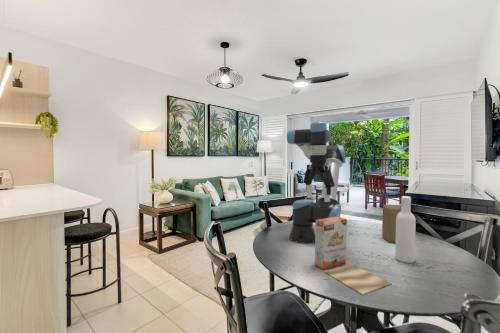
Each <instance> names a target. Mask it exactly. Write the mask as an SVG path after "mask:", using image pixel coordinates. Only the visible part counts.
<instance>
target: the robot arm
mask: <svg viewBox="0 0 500 333" xmlns="http://www.w3.org/2000/svg"><path fill="white" fill-rule="evenodd" d="M331 137H332V135H331V132H330V131H329V130H328V127H327V122H325V121H314V122H311V123H310V128H305V129H290V130H288V131H287V133H286V142H287V143H288V144H289V145H296V146H297V147H298V148H299V149H300V150H301V151H302V152H303V154H304V156H305V157H306V158H307V159H308V160H309V163H310V164H307V165H306V169H305V174H304V178H303V181H302V182H303V184H305V187H306V188H305V190H306V199H304V198H303V199H298V200H294V201H293V202H292V209H291V211H292V227H291V230H290V233H289V240H291V239H292V240H293V241H292V240H291V241H292V242H295V241H297V242H296V243H299V242H311V243H314V242H315V233H316V231H315V230H314V224H316V220H318V219H324V218H331V217H337V216H338V217H341V212H342V206H341V204H339V203H340V202H339V201H338V200H337V195H338V187H339V186H338V185H339V176H340V169H341V168H342V166H343V164H346V151H345V147H344V145H339V144H336V145H335V144H334V145H330V144H329V145H327V143H328V142H330V141H331ZM316 175H319V177H320V178H321V180H322V188H321V195H320V197H319V198H318V199H317V202H314V201H313V200H314V199H312V198H313V180H314V178H315V176H316ZM310 198H311V199H310ZM313 241H314V242H313Z"/></svg>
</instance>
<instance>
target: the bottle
mask: <svg viewBox="0 0 500 333" xmlns="http://www.w3.org/2000/svg"><path fill="white" fill-rule="evenodd" d="M400 200H401V206H402V208H401V212H399V213H398V215H397V217H396V243H395V247H394V248H395V251H394V252H395V253H394V256H395V260H397V261H399V262H402V263H406V264H409V263H410V264H411V263H412V264H413V263H414V262H415V261H416V260H415V259H416V222H417V220H416V217H415V215H414V214H413V213H412V212H411V210H412V208H411V204H412V203H411V202H412V198H411V196H407V195H402V196H401V199H400Z"/></svg>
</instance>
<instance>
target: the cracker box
mask: <svg viewBox="0 0 500 333" xmlns="http://www.w3.org/2000/svg"><path fill="white" fill-rule="evenodd" d="M347 224H348V220H347V218H345V217H341V216H340V217H338V216H337V217H331V218H324V219H318V220H316V223H315V241H314V242H315V243H314V248H315V249H314V265H315V266H316V267H319V268H321V269H322V270H328V269H330V268H333V267H336V266H337V267H338V266H340V265H344V264H346V261H347V260H346V258H347V256H346V255H347V230H348V228H347V226H348V225H347Z"/></svg>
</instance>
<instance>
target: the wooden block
mask: <svg viewBox="0 0 500 333" xmlns="http://www.w3.org/2000/svg"><path fill="white" fill-rule="evenodd" d="M401 208H402V205H401V204H383V205H382V220H381V221H382V225H381V226H382V228H381V230H382V232H381V237H382V239H384V240H385V241H387V242H388V243H392V244H393V243H394V244H396V217H397V215H398V213H399V212H401Z"/></svg>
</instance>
